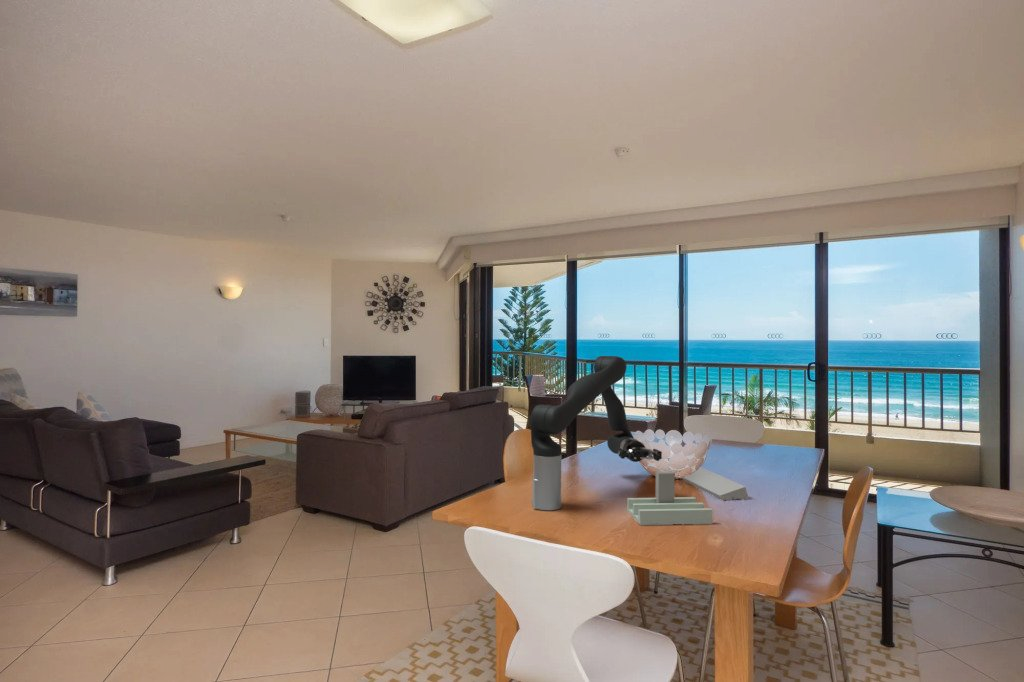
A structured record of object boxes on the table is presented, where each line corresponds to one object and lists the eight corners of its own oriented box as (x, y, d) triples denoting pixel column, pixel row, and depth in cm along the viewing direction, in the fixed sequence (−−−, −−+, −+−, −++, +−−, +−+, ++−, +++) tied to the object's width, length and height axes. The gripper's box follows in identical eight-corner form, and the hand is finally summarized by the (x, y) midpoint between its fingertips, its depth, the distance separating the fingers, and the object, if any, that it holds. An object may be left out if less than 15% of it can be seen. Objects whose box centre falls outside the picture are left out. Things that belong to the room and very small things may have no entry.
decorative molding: (723, 508, 190) (748, 499, 192) (719, 495, 190) (745, 486, 191) (676, 483, 224) (698, 476, 225) (673, 472, 223) (695, 465, 225)
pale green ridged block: (640, 525, 164) (640, 511, 164) (627, 511, 177) (627, 497, 177) (712, 524, 165) (712, 510, 165) (693, 510, 179) (694, 497, 179)
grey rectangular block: (658, 512, 173) (658, 473, 173) (655, 509, 176) (655, 471, 176) (674, 511, 173) (674, 473, 173) (670, 508, 176) (671, 471, 176)
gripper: (613, 438, 203) (625, 446, 187) (651, 439, 204) (666, 446, 187) (613, 459, 203) (624, 468, 186) (651, 459, 203) (666, 469, 187)
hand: (645, 457), depth 187 cm, fingers open, 8 cm apart
